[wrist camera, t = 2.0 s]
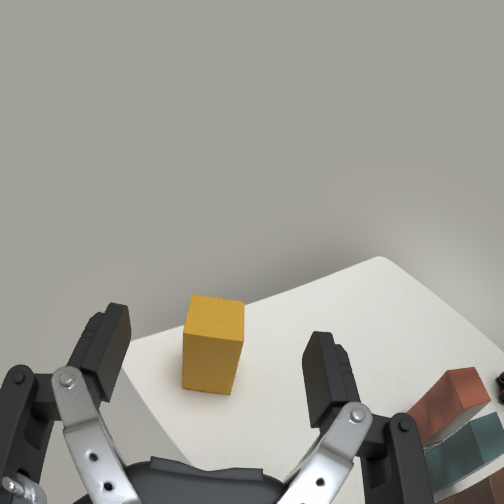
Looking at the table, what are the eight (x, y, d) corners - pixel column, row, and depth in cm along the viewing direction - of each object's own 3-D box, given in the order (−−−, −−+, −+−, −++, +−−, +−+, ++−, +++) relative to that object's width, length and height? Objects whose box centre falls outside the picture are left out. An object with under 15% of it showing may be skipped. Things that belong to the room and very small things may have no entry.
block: (230, 394, 28) (243, 341, 23) (182, 388, 28) (182, 332, 23) (231, 358, 32) (244, 301, 28) (188, 352, 32) (192, 293, 27)
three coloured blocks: (464, 525, 13) (525, 497, 8) (434, 541, 12) (499, 518, 8) (431, 410, 28) (474, 366, 23) (403, 415, 27) (447, 370, 23)
